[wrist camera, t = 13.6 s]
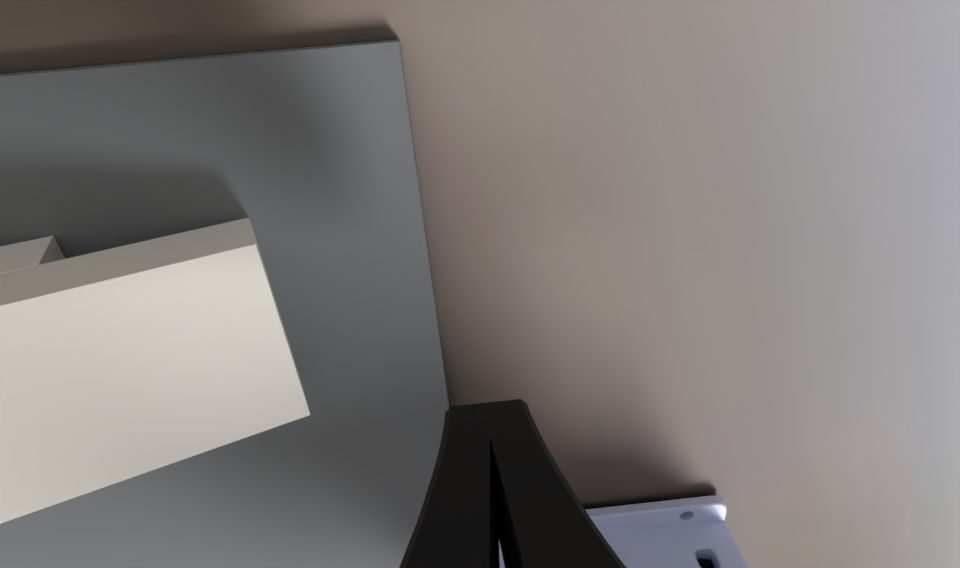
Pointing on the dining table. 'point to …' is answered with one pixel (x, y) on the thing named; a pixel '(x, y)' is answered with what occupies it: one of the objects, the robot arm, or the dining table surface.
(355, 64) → the mat
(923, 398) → the dining table surface
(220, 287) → the domino
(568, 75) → the dining table surface
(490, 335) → the dining table surface
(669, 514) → the robot arm
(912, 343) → the dining table surface
